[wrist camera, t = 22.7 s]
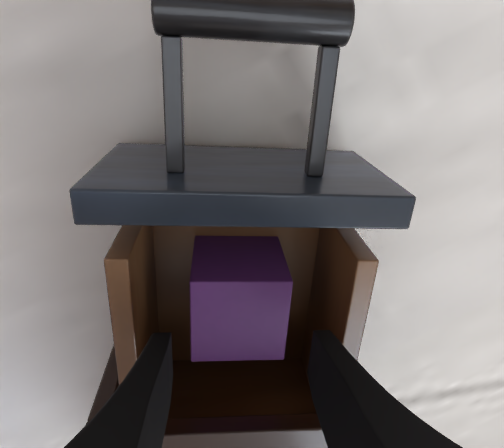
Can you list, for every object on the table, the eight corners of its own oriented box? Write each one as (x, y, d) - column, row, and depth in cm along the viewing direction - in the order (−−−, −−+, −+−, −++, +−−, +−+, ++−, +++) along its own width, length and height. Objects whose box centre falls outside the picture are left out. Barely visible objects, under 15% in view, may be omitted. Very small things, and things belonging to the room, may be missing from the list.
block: (195, 304, 20) (190, 362, 16) (194, 234, 18) (189, 281, 14) (272, 304, 20) (284, 360, 16) (278, 235, 18) (293, 281, 15)
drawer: (104, -6, 15) (32, -41, 9) (376, 14, 16) (467, -7, 10) (137, 356, 22) (109, 463, 16) (320, 353, 23) (354, 452, 17)
